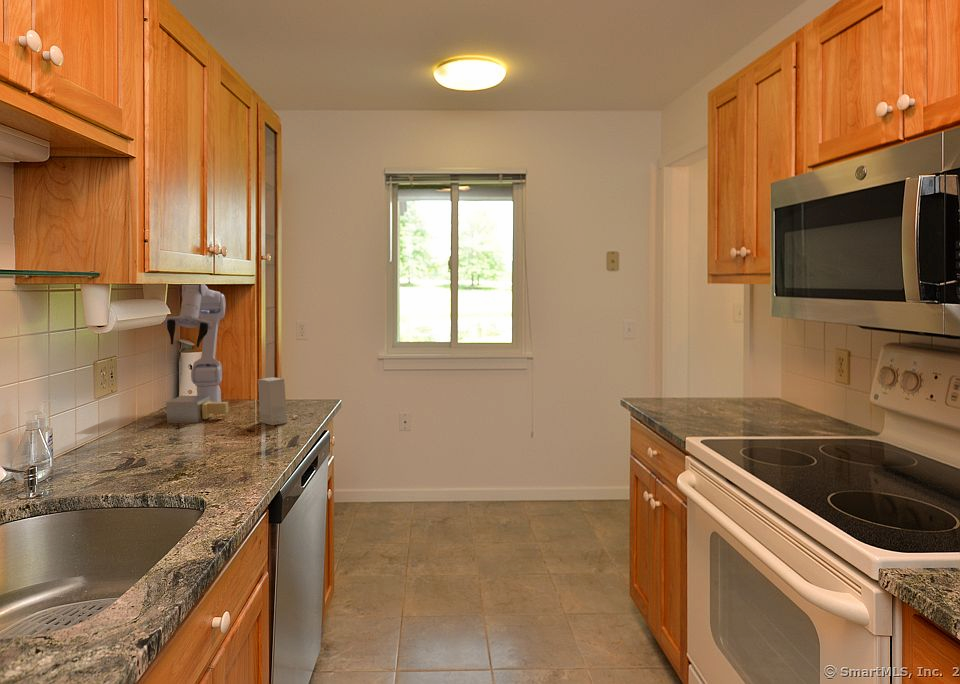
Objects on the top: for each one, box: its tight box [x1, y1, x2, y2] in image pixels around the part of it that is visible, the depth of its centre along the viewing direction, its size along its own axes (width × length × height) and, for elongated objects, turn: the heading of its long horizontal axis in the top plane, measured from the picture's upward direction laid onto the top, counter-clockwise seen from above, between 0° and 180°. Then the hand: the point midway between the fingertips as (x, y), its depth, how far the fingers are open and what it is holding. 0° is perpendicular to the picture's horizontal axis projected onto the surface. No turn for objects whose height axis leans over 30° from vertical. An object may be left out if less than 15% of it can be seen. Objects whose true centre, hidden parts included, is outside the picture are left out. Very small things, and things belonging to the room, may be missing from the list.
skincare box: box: [257, 377, 288, 426], centre depth 217 cm, size 8×6×15 cm
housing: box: [166, 395, 210, 424], centre depth 223 cm, size 12×10×7 cm
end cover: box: [202, 401, 230, 420], centre depth 223 cm, size 6×15×5 cm, turn 93°
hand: (184, 344), depth 212 cm, fingers open, 7 cm apart
